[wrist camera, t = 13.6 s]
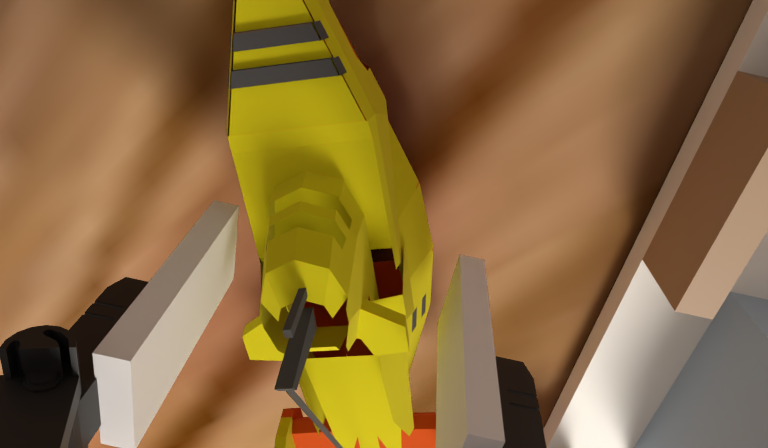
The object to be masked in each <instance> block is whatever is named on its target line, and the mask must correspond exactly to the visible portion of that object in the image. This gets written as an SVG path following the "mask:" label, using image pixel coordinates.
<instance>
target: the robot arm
mask: <svg viewBox="0 0 768 448" xmlns="http://www.w3.org/2000/svg"><path fill="white" fill-rule="evenodd" d="M238 213H239V206H238V205H233V204H229V203H224V202H220V201H215V200H214V201H213V202H212V204H211V205H210V206H209V207H208V209H207V210H206V211H205V212H204V214H203V215H202V216H201V217H200V219H199V220H198V221H197V222H196V224H195V225H194V226H193V227H192V229H191V230H190V231H189V232H188V234H187V235H186V236H185V237H184V239H183V240H182V241H181V242H180V244H179V245H178V246H177V247H176V249H175V250H174V251H173V252H172V254H171V255H170V256H169V257H168V259H167V260H166V261H165V263H164V264H163V265H162V266H161V268H160V269H159V270H158V271H157V273H156V274H155V275H154V276H153V278H152V279H151V280H150V281H149V282H146V281H141V280H137V279H132V278H128V277H125V278H123V279H122V280H120V281H118V282H116V283H114V284H112V285H111V286H109V287H107V288H106V289H105V290H104V292H103V293H102V294H101V295H100V296H99V297H98V298H97V299H96V300H95V303H94V304H92V305H91V306H90V307H89V308H88V309H87V310H86V312H85V314H84V315H82V316H81V317H80V318H79V319H78V321H77V322H76V323H75V324H74V325H73V326H72V327H71V328H70V329H69V330H66V329H64V328H62V327H59V326H49V325H44V326H36V327H31V328H28V329H25V330H22V331H20V332H17V333H15V334H14V335H12V336H11V337H9V338H8V339H6V340H5V341H4V343H3V344H2V345H1V347H0V360H1V364H2V369H3V374H4V375H0V448H88V444H89V442H90V441H91V439H92V438H93V436H94V435H95V433H96V432H97V430H98V429H99V428H100V438H101V444H106V445H110V446H115V447H120V448H137V446H138V445H139V443H140V441H141V439H142V438H143V436H144V434H145V432H146V431H147V429H148V427H149V425H150V424H151V422H152V420H153V418H154V417H155V415H156V413H157V411H158V410H159V408H160V406H161V404H162V403H163V401H164V399H165V397H166V396H167V394H168V392H169V390H170V389H171V387H172V385H173V384H174V382H175V380H176V378H177V377H178V375H179V373H180V371H181V370H182V368H183V366H184V364H185V363H186V361H187V359H188V357H189V356H190V354H191V352H192V350H193V349H194V347H195V345H196V343H197V342H198V340H199V338H200V336H201V335H202V333H203V331H204V330H205V328H206V326H207V324H208V323H209V321H210V319H211V317H212V316H213V314H214V312H215V310H216V309H217V307H218V305H219V303H220V302H221V300H222V298H223V296H224V295H225V293H226V291H227V289H228V288H229V286H230V284H231V282H232V281H233V279H234V268H235V254H236V241H237V227H238ZM536 396H537V395H536V389H535V384H534V379H533V377H532V376H531V374H530V372H529V371H528V369H527V368H526V366H525V365H524V363H523V362H519V361H515V360H510V359H506V358H501V357H497V356H495V348H494V340H493V331H492V322H491V313H490V304H489V296H488V287H487V278H486V269H485V260H483V259H479V258H474V257H469V256H465V255H459V258H458V262H457V265H456V268H455V271H454V274H453V277H452V280H451V283H450V286H449V290H448V293H447V296H446V299H445V302H444V305H443V308H442V311H441V315H440V318H439V321H438V339H437V398H436V448H547V447H546V442H545V437H544V431H543V426H542V421H541V416H540V412H539V405H538V400H537V398H536Z"/></svg>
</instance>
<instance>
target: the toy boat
mask: <svg viewBox="0 0 768 448" xmlns="http://www.w3.org/2000/svg"><path fill="white" fill-rule="evenodd" d="M230 52H231V53H230V72H229V75H228V89H229V90H228V109H227V128H226V131H227V137H228V141H229V144H230V148H231V152H232V155H233V159H234V163H235V167H236V171H237V175H238V179H239V182H240V186H241V190H242V194H243V198H244V202H245V205H246V209H247V213H248V217H249V221H250V225H251V228H252V232H253V236H254V240H255V244H256V248H257V252H258V255H259V259H260V263H261V304H260V316H258V317H257V318H255V319H254V320H252V321H251V322H249V323H248V324H247V325H246V326H245V329H244V333H243V336H242V337H243V340H244V343H245V346H246V349H247V352H248V355H249V358H250V360H276V361H282V364H281V368H280V371H279V375H278V378H277V382H276V385H275V390H278V391H286V392H287V393H288V395H289V396H290V397H291V398H292V399H293V400H294V401H295V402H296V403H297V405H298V406H299V407H300V408H289V409H283V413H282V416H281V420H280V423H279V427H278V431H277V434H276V439H275V448H436V412H431V413H413V412H412V403H411V394H410V385H409V376H408V375H409V371H410V368H411V365H412V362H413V359H414V355H415V352H416V349H417V346H418V342H419V339H420V336H421V333H422V329H423V326H424V323H425V320H426V317H427V313H428V310H429V307H430V302H431V282H432V263H433V243H432V238H431V234H430V229H429V224H428V220H427V215H426V210H425V206H424V201H423V196H422V192H421V187H420V183H419V181H418V179H417V177H416V175H415V173H414V171H413V169H412V167H411V165H410V163H409V161H408V159H407V157H406V155H405V153H404V151H403V149H402V147H401V145H400V143H399V141H398V139H397V137H396V135H395V133H394V131H393V129H392V127H391V125H390V123H389V121H388V114H387V104H386V98H385V96H384V95H383V93H382V91H381V89H380V87H379V85H378V83H377V81H376V79H375V77H374V75H373V73H372V71H371V69H370V68H369V67H368V66H366V65H365V64H363V63H362V62H361V61H360V59H359V58H358V56H357V54H356V52H355V50H354V48H353V47H352V45H351V43H350V41H349V39H348V37H347V35H346V34H345V32H344V30H343V28H342V26H341V24H340V22H339V21H338V19H337V17H336V15H335V13H334V11H333V9H332V7H331V5H330V3H329V0H233V15H232V34H231V37H230ZM349 89H350V90H351V92H352V93H353V95H354V97H355V100H354V98H353V96H352V94H351V92H350V90H349ZM385 248H392V250H393V256H394V261H395V263H394V261H380V262H373V261H372V255H371V250H372V249H385ZM398 266H399V269H400V270H399V269H398ZM346 354H347V355H346ZM347 356H348V357H347ZM298 384H300V387H301V389H302V392H303V395H304V398H305V401H306V404H307V405H306V404H305V403H304V402H303V401H302V399H301V398H300V397H299V396H298V395H297V394H296V392H295V391H294V390H297V387H298ZM301 409H302V410H303V411H304V412H305V413H306V415H307V416H308V417H303V415H302V412H301Z"/></svg>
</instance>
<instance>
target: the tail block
mask: <svg viewBox="0 0 768 448" xmlns="http://www.w3.org/2000/svg"><path fill="white" fill-rule="evenodd" d="M634 448H768V300H767V299H762V298H758V297H753V296H748V295H744V294H739V293H735V292H730V293H729V294H728V296H727V297H726V299H725V301H724V302H723V304H722V306H721V307H720V309H719V310H718V312H717V314H716V315H715V317H714V319H713V320H712V322H711V323H710V325H709V326H708V328H707V330H706V331H705V333H704V335H703V336H702V338H701V339H700V341H699V343H698V344H697V346H696V348H695V349H694V351H693V352H692V354H691V356H690V357H689V359H688V361H687V362H686V364H685V365H684V367H683V369H682V370H681V372H680V374H679V375H678V377H677V378H676V380H675V382H674V383H673V385H672V386H671V388H670V390H669V391H668V393H667V395H666V396H665V398H664V399H663V401H662V403H661V404H660V406H659V408H658V409H657V411H656V412H655V414H654V416H653V417H652V419H651V421H650V422H649V424H648V425H647V427H646V429H645V430H644V432H643V434H642V435H641V437H640V438H639V440H638V442H637V443H636V445H635V447H634Z"/></svg>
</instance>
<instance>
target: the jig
mask: <svg viewBox="0 0 768 448" xmlns="http://www.w3.org/2000/svg"><path fill="white" fill-rule="evenodd" d="M730 292H735V293H739V294H744V295H748V296H753V297H758V298H762V299H767V300H768V0H753V1H752V3H751V5H750V7H749V9H748V11H747V14H746V16H745V18H744V20H743V22H742V24H741V26H740V28H739V30H738V32H737V34H736V36H735V38H734V40H733V42H732V44H731V46H730V48H729V50H728V52H727V55H726V57H725V59H724V61H723V63H722V65H721V67H720V69H719V71H718V73H717V75H716V77H715V79H714V81H713V83H712V85H711V87H710V89H709V91H708V93H707V95H706V98H705V100H704V102H703V104H702V106H701V108H700V110H699V112H698V114H697V116H696V118H695V120H694V122H693V124H692V126H691V128H690V130H689V132H688V134H687V136H686V139H685V141H684V143H683V145H682V147H681V149H680V151H679V153H678V155H677V157H676V159H675V161H674V163H673V165H672V167H671V169H670V171H669V173H668V175H667V177H666V179H665V182H664V184H663V186H662V188H661V190H660V192H659V194H658V196H657V198H656V200H655V202H654V204H653V206H652V208H651V210H650V212H649V214H648V216H647V218H646V220H645V223H644V225H643V227H642V229H641V231H640V233H639V235H638V237H637V239H636V241H635V243H634V245H633V247H632V249H631V251H630V253H629V255H628V257H627V259H626V261H625V263H624V266H623V268H622V270H621V272H620V274H619V276H618V278H617V280H616V282H615V284H614V286H613V288H612V290H611V292H610V294H609V296H608V298H607V300H606V302H605V304H604V306H603V309H602V311H601V313H600V315H599V317H598V319H597V321H596V323H595V325H594V327H593V329H592V331H591V333H590V335H589V337H588V339H587V341H586V343H585V345H584V347H583V350H582V352H581V354H580V356H579V358H578V360H577V362H576V364H575V366H574V368H573V370H572V372H571V374H570V376H569V378H568V380H567V382H566V384H565V386H564V388H563V390H562V393H561V395H560V397H559V399H558V401H557V403H556V405H555V407H554V409H553V411H552V413H551V415H550V417H549V419H548V421H547V423H546V425H545V427H544V429H543V431H544V437H545V442H546V447H547V448H634V447H635V445H636V443H637V442H638V440H639V438H640V437H641V435H642V434H643V432H644V430H645V429H646V427H647V425H648V424H649V422H650V421H651V419H652V417H653V416H654V414H655V412H656V411H657V409H658V408H659V406H660V404H661V403H662V401H663V399H664V398H665V396H666V395H667V393H668V391H669V390H670V388H671V386H672V385H673V383H674V382H675V380H676V378H677V377H678V375H679V374H680V372H681V370H682V369H683V367H684V365H685V364H686V362H687V361H688V359H689V357H690V356H691V354H692V352H693V351H694V349H695V348H696V346H697V344H698V343H699V341H700V339H701V338H702V336H703V335H704V333H705V331H706V330H707V328H708V326H709V325H710V323H711V322H712V320H713V319H714V317H715V315H716V314H717V312H718V310H719V309H720V307H721V306H722V304H723V302H724V301H725V299H726V297H727V296H728V294H729V293H730Z"/></svg>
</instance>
